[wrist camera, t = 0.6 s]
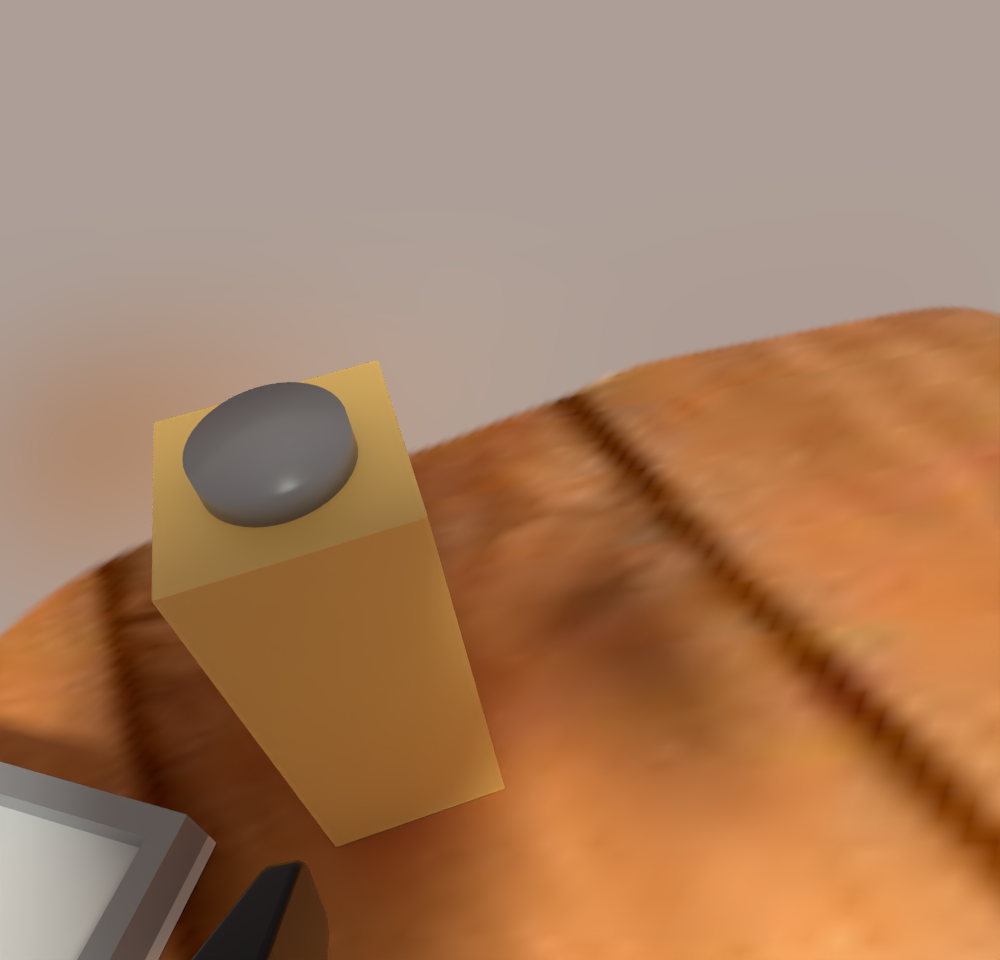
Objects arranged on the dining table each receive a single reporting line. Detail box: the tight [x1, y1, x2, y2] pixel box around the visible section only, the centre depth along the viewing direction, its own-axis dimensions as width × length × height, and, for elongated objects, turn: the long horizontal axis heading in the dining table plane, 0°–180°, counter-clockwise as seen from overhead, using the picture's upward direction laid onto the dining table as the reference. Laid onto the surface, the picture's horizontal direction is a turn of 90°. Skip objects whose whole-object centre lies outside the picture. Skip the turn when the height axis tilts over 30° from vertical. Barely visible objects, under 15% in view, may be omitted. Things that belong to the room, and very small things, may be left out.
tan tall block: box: [152, 360, 505, 847], centre depth 20 cm, size 5×5×13 cm
